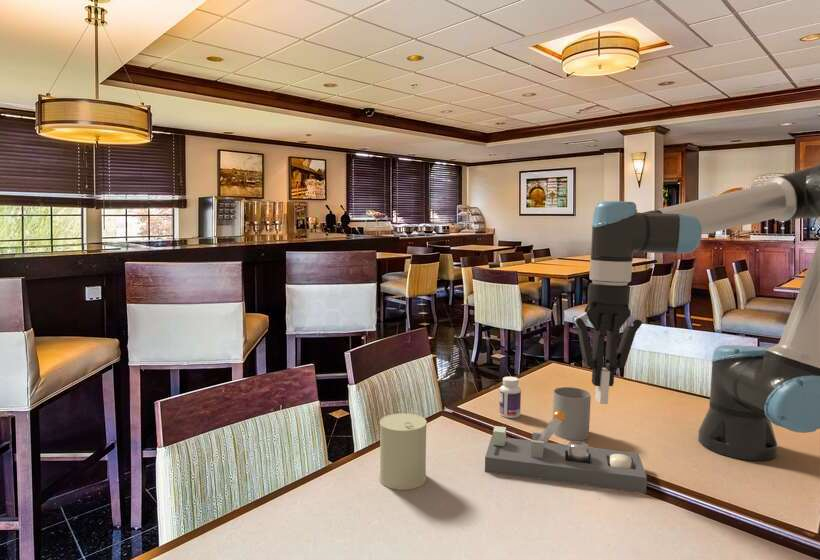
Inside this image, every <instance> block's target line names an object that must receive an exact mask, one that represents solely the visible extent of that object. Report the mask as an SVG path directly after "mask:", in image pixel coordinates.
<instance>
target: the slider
mask: <svg viewBox="0 0 820 560" xmlns="http://www.w3.org/2000/svg"><path fill="white" fill-rule="evenodd" d="M492 436H493V445H498V446H504V445H505V441H506V438H507V427H506V426H499V425H498V426H497V425H494V427H493V431H492Z"/></svg>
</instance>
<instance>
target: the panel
mask: <svg viewBox="0 0 820 560" xmlns="http://www.w3.org/2000/svg"><path fill="white" fill-rule="evenodd" d="M542 433H543V431H542V432H540V431H532V433H531V434H532V435H531V436H532V437H531V440H530V439H529V440H528V439H520V438H511V437H506V441H505V445H504V446H498V445H493V435H492V436H491V438H490V440H489V442H488V443H489V444H488V448H487V450H486V454H485V455H484V456H485V457H484V472H486V473H492V474H495V473H496V474H501V475H509V476H510V475H511V476H517V477H523V478H524V477H525V478H532V479H538V480H539V479H540V480H546V481H551V482H553V481H554V482H560V483H568V484H574V485H575V484H576V485H584V486H591V487H598V488H605V489H613V490H621V491H627V492H633V493H634V492H635V493H641V494H642V493H643V494H646V493H647V486H648V485H647V482H648V481H647V480H648V477H647V473H646V471H645V468H644V465H643V462H642V459H641V457H640V454H639V452H631V451H623V450H613V449H607V448H598V447H590V446H589V461H588V463H580V462H572V461H568V444H564V443H556V442H547V443H546V444H545V446H544V441H537V440H538V438H539V437H540V435H541V434H542ZM612 454H623V455H626V456H628V457H630V458H631V459H632V465H631V469H628V468H620V467H612V466H610V455H612Z"/></svg>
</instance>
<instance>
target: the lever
mask: <svg viewBox="0 0 820 560" xmlns="http://www.w3.org/2000/svg"><path fill="white" fill-rule="evenodd" d="M564 420H565V414H564V413H563V412H562V411H556V412H555V413H554V414H553V413H552V418H551V419H550V421H549V422H548V424H547V426H546V427H545V428H544V429H543V431H542V434H541V435H540V437H539V438H538V440H537V441H544V446H545V444H546V443H548V441H549V440H550V439H551V437H552V436H553V435H554V434H553V433H554V432H555V430H556V429H557V427H558V426H559V424H560V423H562V422H564Z"/></svg>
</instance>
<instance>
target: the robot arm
mask: <svg viewBox="0 0 820 560" xmlns="http://www.w3.org/2000/svg"><path fill="white" fill-rule="evenodd" d="M592 217H593V218H592V224H591V251H590V252H591V253H590V260H589V263H590V264H589V277H588V278H589V280H590V281H592V282H589V283H588V288H587V289H588V291H587V305H586V307H585V308H584V313H582V314H580V315H578V316H573V317H572V322H573V323H574V325H575V327H576V329H577V330H576V331H577V334H578V339H579V345H580V352H581V357H582V358H581V359H582V362H583V364H585V365H586V366H587V367H588V368H590V369H591V368H592V373H591V374H592V375H591V383H592V385H593V386H594V387H595V397H594V400H595V401H596V402H597V403H598V404H600V405H608V404H609V390H610V387H614V384H615V373H616V372H617V371H618V369H620V368H621V369H623V368H625V367H626V364H627V361H628V359H629V355H630V352H631V348H632V346H633V342H634V339H635V336H636V333H637V331H638V330H639V329H640V327H641V326H642V324H643V322H642V320H640V319H638V318H636V317H635V316H633V315H631V313H632V312H631V309H630V307H629V304H630V299H631V298H630V296H631V286H630V285H629V284H628V283H630V282H632V269H633V256H634V253H650V254H675V255H679V254H691V253H693V252H695V250H697V249H698V247H699V246H700V243H701V241H702V235H707V234H708V235H709V234H712V233H716V232H721V231H725V230H729V229H734V228H738V227H743V226H746V225H747V226H748V225H752V224H756V223H760V222H765V221H769V220H770V221H771V220H773V219H774V220H775V221H777V222H787V221H792V220H796V219H817V222H818V223H819V224H820V163H818V164H816V165H812V166H810V167H806V168H803V169H801V170H800V169H799V170H798V171H793V172H790V173H787V174H784V175H779V176H775V177H772V178H770V179H769V180H768V181H767V182H766V183H765V184H762V185H757V186H752V187H748V188H744V189H740V190H735V191H731V192H726V193H721V194H718V195H714V196H709V197H705V198H700V199H696V200H690V201H687V202H683V203H678V204H674V205H670V206H669V205H668V206H665V207H661V208H657V209H654V210H648V211H644V212H638V209H637V204H636V203H635V202H634V201H624V200H622V201H621V200H620V201H619V200H617V201H616V200H615V201H613V200H612V201H611V200H607V201H598V203H597V204H595V206H594V210H593V215H592ZM790 311H791V312H790V313H789V316H788V318H787V321H786V324H785V327H784V329H783V332H782V333H781V338H780V340H779V342H778V343H777V344H776V345H774V346H771V347H765V346H755V345H734V344H732V345H730V344H729V345H728V344H727V345H725V344H724V345H720V346H717V347H715V349H714V350H713V353H712V360H711V375H710V376H711V379H710V395H709V404H708V405H709V406H708V410H707V412H706V414H705V416H704V419H703V420H702V422H701V425H700V427H699V429H698V436H697V437H698V438H697V439H698V440H697V441H698V442H699V444H701V446H703V447H705V448H706V449H708V450H711V451H712V452H715V453H717V454H720V455H723V456H726V457H730V458H734V459H739V460H744V461H755V462H757V461H758V462H759V461H761V462H762V461H763V462H764V461H769V460H770V461H771V460H772V459H775V458H776V457H777V454H778V442H777V438H776V436H775V432H774V429H773V425H775V426H777V427H781V428H782V429H786V430H788V431H790V432H794V433H801V434H804V433H806V434H807V433H814V432H817V430H819V429H820V238H819V240H818V242H817V245H816V248H815V250H814V252H813V255H812V257H811V260H810V262H809V266H808V267H807V270H806V273H805V275H804V278H803V281H802V283H801V285H800V288H799V291H798V294H797V296H796V299H795V301H794V303H793V307H792V309H791V310H790ZM588 321H589V323H590V324H591V326H592V327H593V328H592V331H593V344H592V346H593V347H592V349H591V342H590V335H589V331H588V328H587V325H588ZM624 324H625V327H624V329H623V333H622V335H621V339H620V342H619V343H618V341H619V336H620V329H621V328H622V327H623V325H624ZM605 338H606V339H605ZM605 340H606V345H605ZM604 353H605V357H604ZM604 359H605V361H604ZM603 365H604V366H605V367H603ZM772 424H773V425H772Z"/></svg>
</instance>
